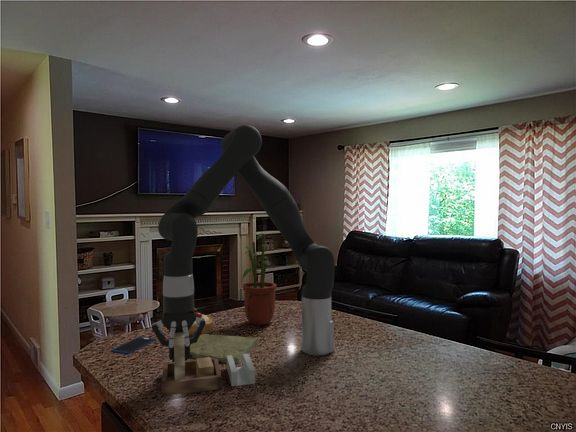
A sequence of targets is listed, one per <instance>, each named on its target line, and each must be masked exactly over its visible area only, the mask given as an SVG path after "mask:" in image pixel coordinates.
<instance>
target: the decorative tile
mask: <svg viewBox="0 0 576 432" xmlns="http://www.w3.org/2000/svg"><path fill="white" fill-rule="evenodd" d="M257 346H258V339H257V338H256V337H246V336H239V335H238V336H237V335H235V336H234V335H223V334H222V335H221V334H216V335H215V334H210V333H209V334H202V335H200V336H199V338H198V340H197V342H196V343H193V344H191V345H190V358H193V359H195V360H196V359H198V358H205V357H210V358H217V359H218V363H220V362H221V364H222V363H225V364H227V356H229V355H232V356H233V359H234V362H235V364H240V363H241V362H243V354H249V353H250V352H251V350H252V349H253V348H254V347H255V348H256V347H257Z"/></svg>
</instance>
